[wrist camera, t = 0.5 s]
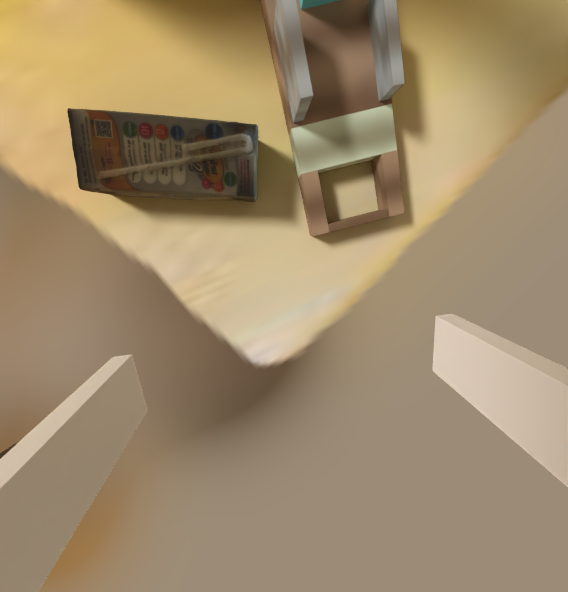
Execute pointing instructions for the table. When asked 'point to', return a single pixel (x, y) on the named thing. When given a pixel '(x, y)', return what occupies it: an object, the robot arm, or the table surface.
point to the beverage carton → (164, 155)
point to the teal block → (313, 3)
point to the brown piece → (339, 96)
